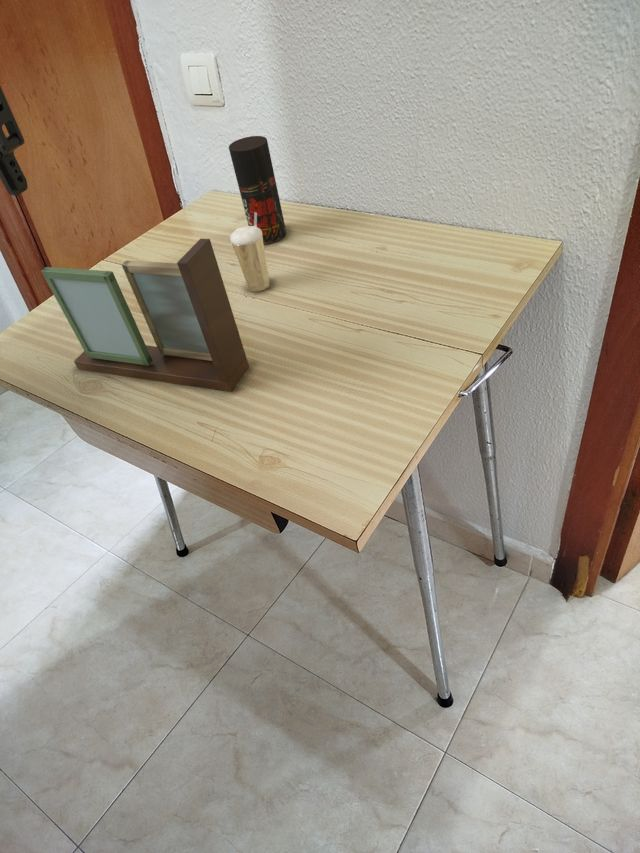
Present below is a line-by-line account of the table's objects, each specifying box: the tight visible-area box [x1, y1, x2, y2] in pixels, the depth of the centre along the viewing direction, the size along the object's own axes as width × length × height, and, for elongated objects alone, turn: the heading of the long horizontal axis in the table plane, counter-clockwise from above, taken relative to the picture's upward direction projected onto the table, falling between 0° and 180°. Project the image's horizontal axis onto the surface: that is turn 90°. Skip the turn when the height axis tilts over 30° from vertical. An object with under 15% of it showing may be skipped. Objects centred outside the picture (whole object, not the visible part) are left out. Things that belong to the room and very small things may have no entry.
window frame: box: [73, 238, 250, 393], centre depth 71 cm, size 24×5×17 cm, turn 68°
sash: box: [40, 266, 153, 366], centre depth 72 cm, size 10×1×13 cm, turn 68°
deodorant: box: [228, 135, 287, 245], centre depth 94 cm, size 6×6×15 cm
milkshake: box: [229, 213, 270, 293], centre depth 85 cm, size 4×5×10 cm
